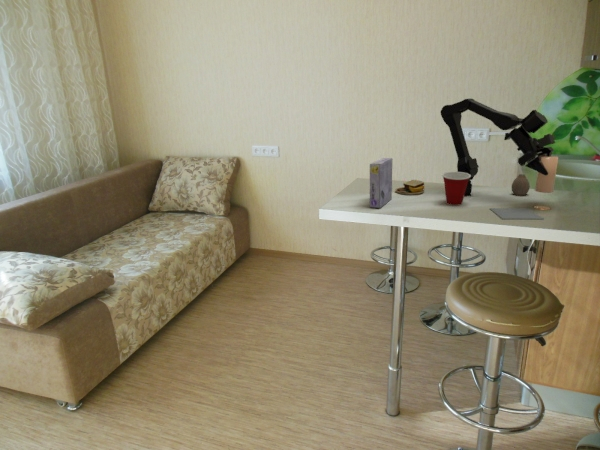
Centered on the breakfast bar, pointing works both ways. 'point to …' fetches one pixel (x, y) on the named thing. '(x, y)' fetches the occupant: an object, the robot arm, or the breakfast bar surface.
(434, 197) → the breakfast bar surface
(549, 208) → the copper marker
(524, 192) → the vase
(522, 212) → the pad
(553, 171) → the terracotta canister
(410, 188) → the toy sandwich meal
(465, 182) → the plastic cup
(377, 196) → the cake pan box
